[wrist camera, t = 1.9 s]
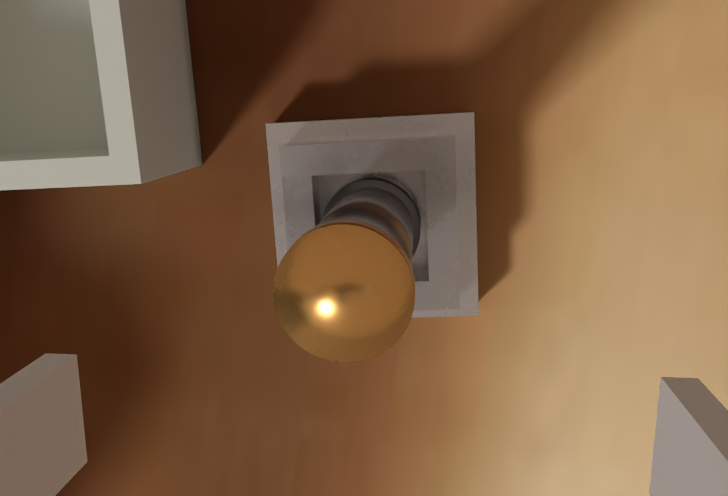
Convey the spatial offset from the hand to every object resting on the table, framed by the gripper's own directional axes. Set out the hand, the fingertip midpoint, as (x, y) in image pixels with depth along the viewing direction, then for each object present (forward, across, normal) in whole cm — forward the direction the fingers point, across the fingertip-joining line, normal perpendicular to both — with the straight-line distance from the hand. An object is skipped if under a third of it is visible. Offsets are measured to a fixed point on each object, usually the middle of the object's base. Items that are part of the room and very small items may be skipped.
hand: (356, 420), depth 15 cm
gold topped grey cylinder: (+19, +1, -1) cm, 19 cm away
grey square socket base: (+21, +1, -1) cm, 21 cm away
